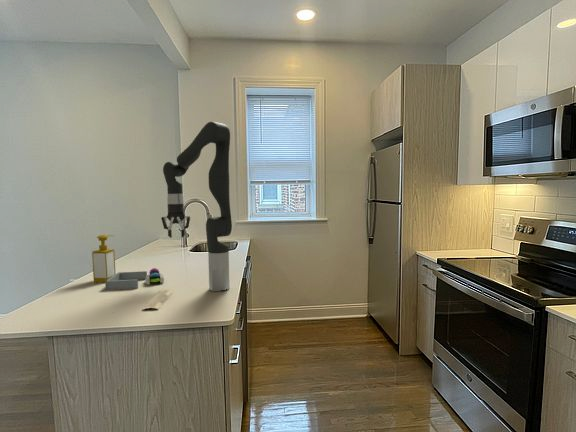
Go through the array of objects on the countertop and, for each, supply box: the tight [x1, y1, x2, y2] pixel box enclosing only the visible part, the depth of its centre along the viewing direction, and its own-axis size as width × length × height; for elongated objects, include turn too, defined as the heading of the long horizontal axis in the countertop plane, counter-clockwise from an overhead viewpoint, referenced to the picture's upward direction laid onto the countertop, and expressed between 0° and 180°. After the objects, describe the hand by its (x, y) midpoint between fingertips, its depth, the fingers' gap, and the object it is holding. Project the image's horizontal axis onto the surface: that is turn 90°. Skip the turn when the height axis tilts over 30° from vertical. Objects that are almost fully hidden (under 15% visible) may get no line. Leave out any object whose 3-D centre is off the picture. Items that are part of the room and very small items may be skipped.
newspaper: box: [142, 289, 174, 312], centre depth 144 cm, size 24×7×2 cm, turn 6°
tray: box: [104, 270, 148, 291], centre depth 170 cm, size 18×14×4 cm
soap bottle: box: [91, 234, 117, 284], centre depth 179 cm, size 7×13×24 cm, turn 174°
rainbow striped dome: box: [145, 267, 165, 286], centre depth 172 cm, size 8×10×7 cm
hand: (176, 237), depth 172 cm, fingers open, 5 cm apart
